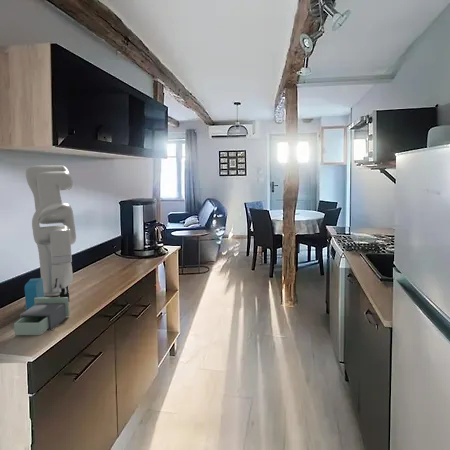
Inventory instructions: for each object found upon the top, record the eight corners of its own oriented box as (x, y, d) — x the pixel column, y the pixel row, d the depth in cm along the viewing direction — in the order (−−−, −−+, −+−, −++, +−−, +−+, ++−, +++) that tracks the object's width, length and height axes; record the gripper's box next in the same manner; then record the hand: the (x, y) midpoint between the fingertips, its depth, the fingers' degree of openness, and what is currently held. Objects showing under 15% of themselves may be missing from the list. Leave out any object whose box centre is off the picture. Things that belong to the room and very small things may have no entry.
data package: (33, 304, 168) (31, 277, 167) (44, 303, 169) (42, 277, 168) (26, 314, 157) (24, 285, 155) (38, 313, 158) (36, 284, 156)
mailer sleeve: (38, 318, 152) (36, 303, 151) (65, 318, 152) (64, 303, 151) (21, 330, 140) (19, 314, 139) (51, 330, 140) (50, 314, 139)
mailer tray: (37, 315, 153) (35, 297, 152) (69, 315, 153) (68, 297, 152) (9, 336, 134) (7, 315, 133) (46, 335, 134) (44, 314, 133)
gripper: (60, 254, 164) (63, 296, 167) (43, 263, 150) (47, 309, 152) (78, 254, 164) (81, 296, 167) (62, 263, 149) (66, 309, 152)
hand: (64, 302), depth 160 cm, fingers closed
